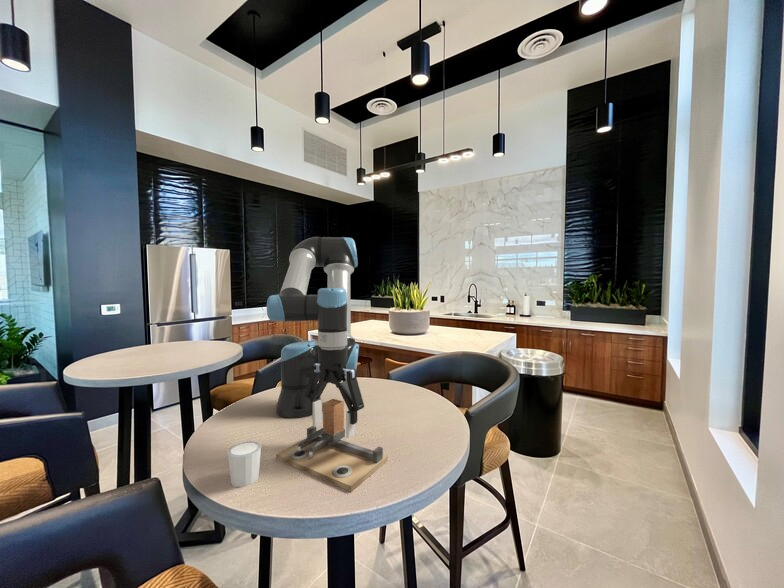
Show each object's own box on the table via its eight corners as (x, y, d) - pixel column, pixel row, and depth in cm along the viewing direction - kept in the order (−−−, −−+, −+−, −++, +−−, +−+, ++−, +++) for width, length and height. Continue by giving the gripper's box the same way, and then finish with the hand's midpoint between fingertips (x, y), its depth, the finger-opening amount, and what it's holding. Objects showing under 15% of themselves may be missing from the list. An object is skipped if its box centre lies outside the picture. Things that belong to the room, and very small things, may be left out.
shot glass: (235, 471, 74) (235, 441, 74) (265, 469, 75) (265, 440, 74) (222, 489, 67) (221, 457, 67) (255, 488, 68) (255, 455, 67)
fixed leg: (292, 451, 79) (292, 443, 79) (323, 434, 88) (322, 427, 88) (303, 455, 77) (303, 448, 77) (333, 438, 86) (333, 431, 86)
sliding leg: (303, 455, 77) (303, 411, 77) (333, 438, 86) (333, 398, 86) (315, 460, 75) (314, 415, 75) (345, 441, 84) (344, 401, 84)
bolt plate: (276, 459, 79) (276, 443, 79) (317, 436, 91) (317, 422, 91) (351, 492, 66) (351, 473, 66) (387, 460, 78) (387, 444, 78)
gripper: (290, 345, 86) (291, 425, 86) (359, 354, 73) (360, 448, 74) (311, 341, 92) (312, 415, 93) (378, 349, 80) (378, 435, 80)
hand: (333, 430), depth 83 cm, fingers open, 11 cm apart
